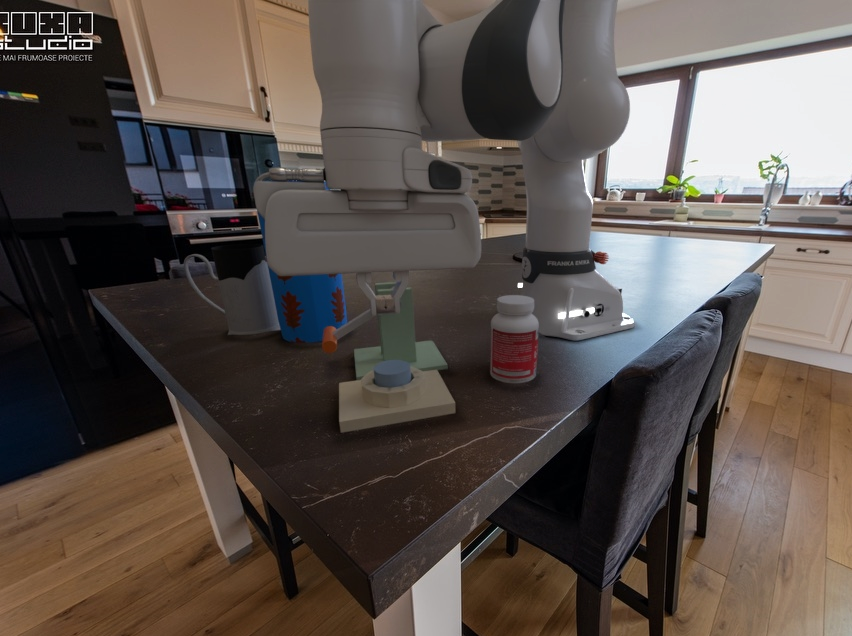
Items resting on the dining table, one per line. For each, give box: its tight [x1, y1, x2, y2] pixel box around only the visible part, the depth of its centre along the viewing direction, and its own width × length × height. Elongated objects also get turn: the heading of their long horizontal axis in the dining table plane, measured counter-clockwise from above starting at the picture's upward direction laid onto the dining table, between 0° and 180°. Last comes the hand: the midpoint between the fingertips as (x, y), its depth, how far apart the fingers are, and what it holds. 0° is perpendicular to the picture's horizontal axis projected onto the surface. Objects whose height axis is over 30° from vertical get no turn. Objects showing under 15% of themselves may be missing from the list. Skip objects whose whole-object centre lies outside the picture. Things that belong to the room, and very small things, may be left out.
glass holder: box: [183, 243, 281, 336], centre depth 68 cm, size 9×14×15 cm, turn 89°
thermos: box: [252, 180, 348, 344], centre depth 64 cm, size 11×11×25 cm
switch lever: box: [321, 286, 395, 354], centre depth 53 cm, size 12×6×2 cm, turn 108°
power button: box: [374, 360, 411, 388], centre depth 44 cm, size 4×4×2 cm
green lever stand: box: [353, 281, 449, 381], centre depth 55 cm, size 12×10×12 cm
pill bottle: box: [489, 294, 539, 384], centre depth 51 cm, size 6×6×11 cm
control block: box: [338, 366, 456, 434], centre depth 45 cm, size 12×9×4 cm
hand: (385, 313), depth 42 cm, fingers closed
